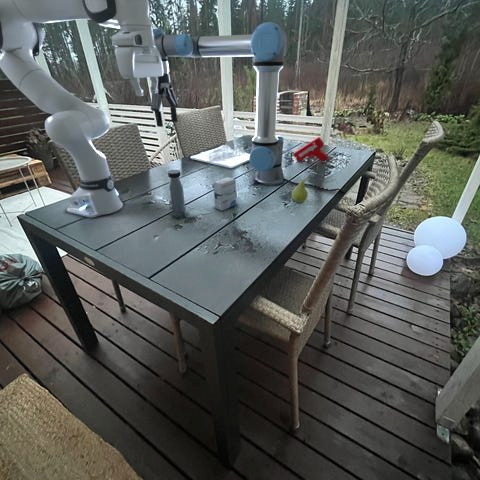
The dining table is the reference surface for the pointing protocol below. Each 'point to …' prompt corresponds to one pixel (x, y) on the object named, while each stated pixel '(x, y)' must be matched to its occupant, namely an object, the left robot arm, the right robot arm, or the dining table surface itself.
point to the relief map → (223, 156)
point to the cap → (174, 173)
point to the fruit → (300, 192)
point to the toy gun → (312, 151)
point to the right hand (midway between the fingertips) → (167, 124)
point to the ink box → (225, 193)
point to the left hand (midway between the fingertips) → (147, 94)
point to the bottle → (177, 197)
